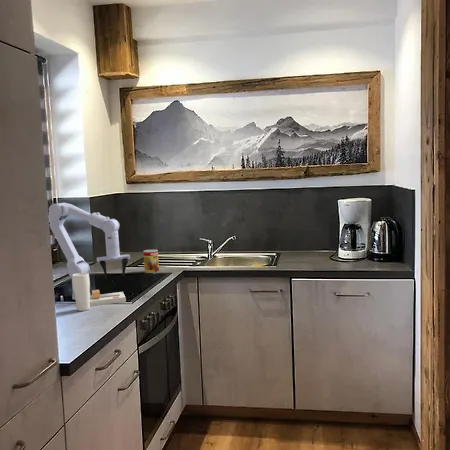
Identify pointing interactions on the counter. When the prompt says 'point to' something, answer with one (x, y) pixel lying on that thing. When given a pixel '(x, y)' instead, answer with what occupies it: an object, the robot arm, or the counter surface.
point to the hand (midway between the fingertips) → (114, 276)
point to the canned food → (151, 261)
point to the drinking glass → (81, 290)
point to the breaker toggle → (95, 293)
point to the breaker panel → (108, 299)
